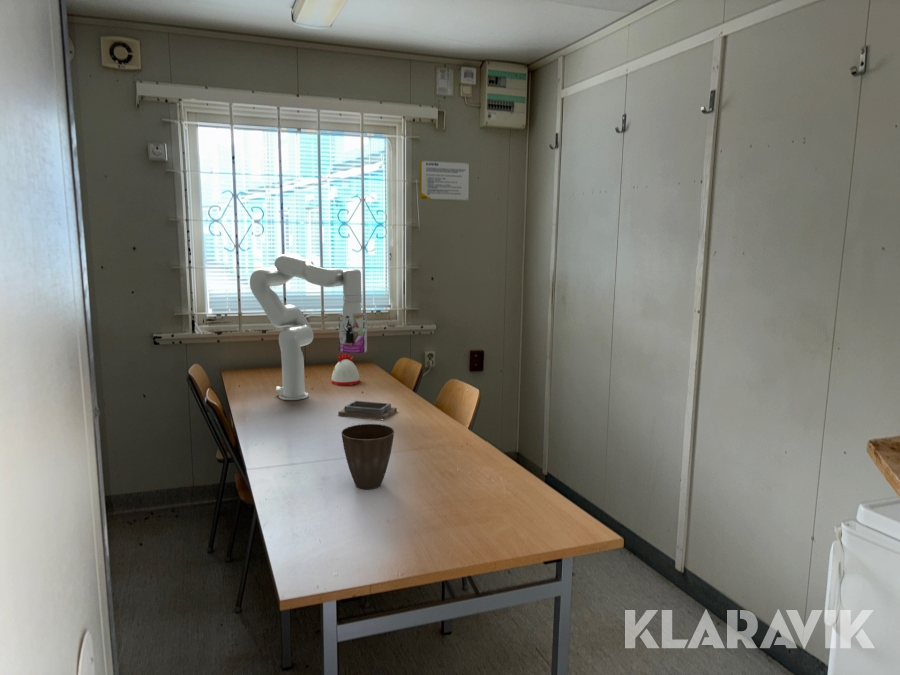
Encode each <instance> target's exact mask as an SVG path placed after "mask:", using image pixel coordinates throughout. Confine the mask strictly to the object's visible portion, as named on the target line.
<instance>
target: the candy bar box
mask: <svg viewBox="0 0 900 675" xmlns="http://www.w3.org/2000/svg"><path fill="white" fill-rule="evenodd" d="M342 313H343V312H340V313H339V314H338V346H339V347H338V352H339V353H341V354H343V353H344V354H346V353H347V354H350V353H351V354H365V353H366V352H368V326H367V325H368V314H367V313H361V314H358V315H356V323H355V326H354V327H353V334H354V342H353V343H346V333H345V328H344V326H343V325H342ZM348 326H351V325H348ZM350 330H351V328H350Z"/></svg>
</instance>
